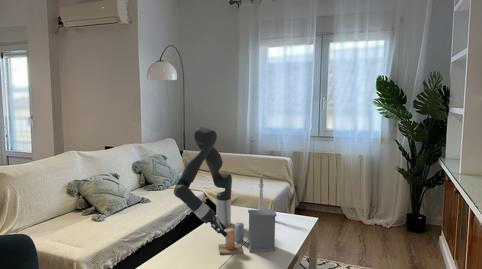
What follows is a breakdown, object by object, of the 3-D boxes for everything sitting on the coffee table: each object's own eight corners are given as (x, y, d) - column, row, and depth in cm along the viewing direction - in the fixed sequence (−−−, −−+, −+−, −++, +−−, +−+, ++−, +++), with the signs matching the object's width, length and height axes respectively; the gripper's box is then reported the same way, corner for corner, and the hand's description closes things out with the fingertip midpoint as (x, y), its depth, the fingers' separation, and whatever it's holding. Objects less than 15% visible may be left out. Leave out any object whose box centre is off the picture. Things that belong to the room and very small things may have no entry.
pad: (218, 246, 187) (218, 244, 187) (240, 245, 189) (240, 243, 189) (219, 254, 178) (219, 252, 178) (242, 253, 179) (242, 251, 179)
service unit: (247, 245, 189) (248, 209, 186) (272, 244, 190) (273, 209, 188) (249, 252, 181) (250, 215, 178) (275, 251, 182) (276, 214, 180)
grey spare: (234, 239, 196) (234, 222, 195) (242, 239, 197) (243, 222, 195) (235, 243, 191) (235, 226, 190) (243, 242, 192) (244, 225, 190)
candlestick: (264, 222, 222) (265, 177, 218) (247, 218, 229) (248, 174, 225) (273, 216, 233) (274, 173, 229) (257, 212, 240) (258, 171, 236)
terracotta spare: (225, 246, 185) (225, 228, 184) (234, 245, 186) (234, 228, 185) (225, 250, 180) (226, 232, 179) (235, 249, 181) (235, 231, 180)
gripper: (209, 212, 172) (232, 232, 175) (208, 202, 186) (229, 222, 189) (199, 222, 172) (221, 243, 175) (198, 212, 186) (219, 231, 189)
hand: (225, 232), depth 182 cm, fingers open, 8 cm apart
